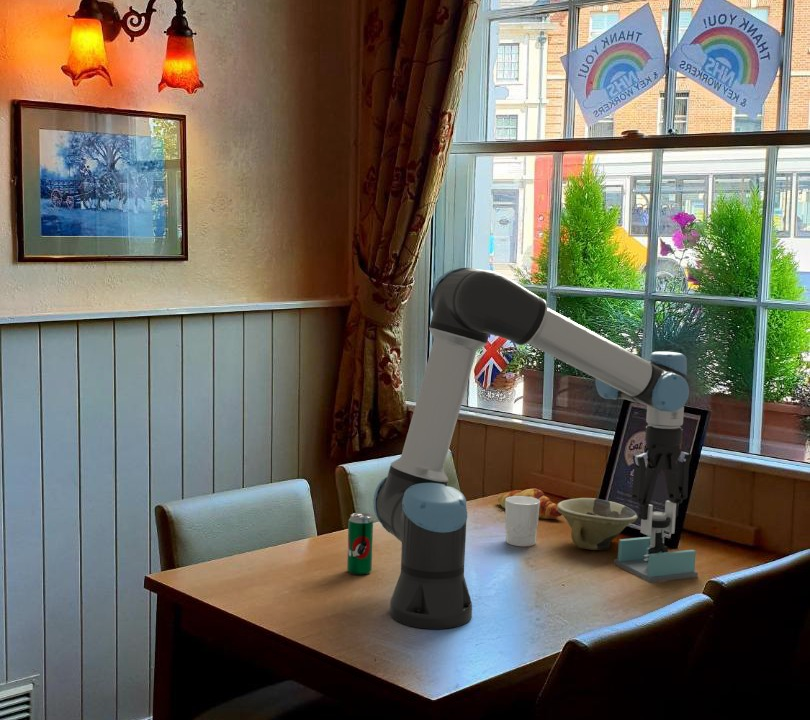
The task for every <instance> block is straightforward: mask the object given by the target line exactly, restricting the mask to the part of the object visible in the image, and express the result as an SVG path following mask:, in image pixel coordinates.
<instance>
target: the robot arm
mask: <svg viewBox="0 0 810 720" xmlns="http://www.w3.org/2000/svg"><path fill="white" fill-rule="evenodd" d="M429 294H430V295H429V305H430V308H431V312H432V316H431V319H430V324H429V328H428V329H429V332H430V334H431V335H432V338H433V342H432V344H431V345H432V346H431V349H430V353H429V356H428V359H427V363H426V367H425V369H424V370H425V371H424V373H423V374H424V375H423V378H422V382H421V384H420V389H419V392H418V396H417V399H416V403H415V406H414V409H413V413H412V417H411V420H410V424H409V428H408V432H407V434H406V438H405V442H404V445H403V448H402V453H401V455H400V457H399V458H398V459H395V460H394V461H393V462H391V463H390V466H389V470H388V473H387V476H385V477H384V478H383V479H381V481H379V483H378V485H377V487H376V488H375V490H374V494H373V498H372V499H373V501H372V504H373V505H372V506H373V510H374V511H373V512H374V513H375V516H376V519H377V520H378V522H379V523H380V524H381V527H383V529H385V530H386V531H387V532H388V533H389V534H391V535H392V536H394V537H395V538H396V539H397V540H398V541H400V542H401V555H400V556H401V557H400V558H401V559H400V561H401V562H400V574H399V577H398V580H397V582H396V585H395V588H394V590H393V593H392V595H391V599H390V602H389V614H390V616H391V618H392V619H394V620H395V621H397V622H398V623H400V624H403V625H406V626H410V627H413V628H419V629H428V630H429V629H430V630H431V629H432V630H437V629H438V630H439V629H441V630H442V629H451V628H452V629H453V628H456V627H460V626H463V625H465V624H467V623H468V622H470V621H471V619H472V616H473V604H472V599H471V596H470V593H469V589H468V585H467V582H466V578H465V557H466V556H465V555H466V540H467V539H466V538H467V537H466V536H467V521H468V509H467V499H466V497H465V495H464V493H462V492H461V491H460V490H459V489H458V488H455V487H453V486H450V485H449V486H448V482H449V478H448V475H447V474H446V472H445V470H444V467H445V464H446V460H447V456H448V453H449V449H450V447H451V442H452V440H453V439H452V438H453V435H454V432H455V429H456V426H457V425H456V424H457V421H458V418H459V415H460V411H461V408H462V407H461V406H462V405H463V404H462V403H463V399H464V396H465V393H466V391H467V386H468V383H469V379H470V375H471V371H472V369H473V365H474V361H475V358H476V353H477V352H478V350H480V349H482V348H483V347H486V346H487V344H488V341H489V336H490V335H491V336H495V337H499V338H502V339H505V340H508V341H509V342H513V344H514V343H515V344H516V345H518V346H525V345H527V344H528V345H530V346H532V347H534V348H536V349H538V350H539V351H542V352H544V353H545V354H547V355H550V356H551V357H554V358H555V359H557V360H560V361H561V362H564V363H565V364H567V365H569V366H571V367H573V368H575V369H577V370H579V371H580V372H583V373H585V374H587V375H589V376H591V377H593V378H594V379H595V388H596V390H597V394H598V395H599V396H600V397H601V398H603V399H605V400H606V399H607V400H627V401H629V402H633V403H636V404H639V405H642V406H643V405H644V406H646V419H645V422H646V423H647V424H646V426H645V437H644V440H645V444H646V446H645V449H644V451H643V452H642V453H640V454H633V455H632V461H633V465H634V466H633V477H632V490H631V500H632V501H634V502H637V503H639V507H638V508H639V510H638V511H639V512H638V518H639V519H641V520H640V534H643V535H646V537H650V536H651V528H652V513H653V512H654V511H653V510H654V509H653V508H654V505H653V504H650V503H651V500H652V497H653V495H654V491H655V486H656V484H657V480H658V476H659V475H660V474H661V472H662V471H663V472H664V476H665V478H664V479H665V484H666V489H667V494H668V499H669V500H665V505H664V513H666V516H667V517H669V518H670V519H671V520H670V522H669V526H668V527H667V528H665V529H664V532H667V533H669V534H671V535H672V534H675V532H676V531H675V529H676V518H677V517H678V516H679V505H681V504H682V503H683V501H684V500H687V499H688V498H689V497H688V495H689V494H688V492H689V473H690V471H689V469H690V463H691V460H692V457H693V456H692V453H688V452H685V451H682V450H681V445H682V442H683V430H684V429H683V428H682V427H681V426H683V424H684V414H685V412H684V411H685V404H686V403H687V401H688V399H689V395H690V387H689V384H688V382H687V377H688V373H687V372H688V367H687V366H688V362H687V360H688V359H687V356H686V355H684V354H683V353H680V352H675V351H653V352H651V354H650V356H649V360H646V359H645V358H642V357H640V356H639V355H637V354H635V353H633V352H631V351H629V350H627V349H626V348H623V347H622V346H621V345H619V344H617V343H614V342H612V341H611V340H608V339H607V338H605V337H603V336H601V335H599V334H597V333H595V332H594V331H591V330H590V329H589V328H586V327H585V326H583V325H581V324H578V323H577V322H575V321H573V320H572V319H570V318H568V317H566V316H564V315H562V314H561V313H558V312H556V311H555V310H554V309H551V308H550V307H548V305H547V301H546V299H544V298H542V297H540V296H538V295H536V294H535V293H533V292H532V291H530V290H528V289H527V288H525V287H524V286H522V285H520V284H519V283H518V282H515V281H514V280H512V279H511V278H508V277H507V276H505V275H504V274H502V273H499V272H496V271H493V270H487V269H486V270H485V269H478V268H472V267H467V266H466V267H459V268H455V269H454V268H453V269H451V270H448V271H446V272H445V273H443V274H442V275H440V276H439V277H438V278H437V280H435V283H434V284H433V286H432V288H431V291H430V293H429Z"/></svg>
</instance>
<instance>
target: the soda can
mask: <svg viewBox="0 0 810 720" xmlns="http://www.w3.org/2000/svg"><path fill="white" fill-rule="evenodd" d="M347 521H348V523H347V524H348V526H347V529H348V530H347V559H346V562H347V564H346V565H347V566H346V569H347V571H348V573H349V574H352V575H353V576H354V575H355V576H363V575H364V576H365V575H368V574H370V573H371V571H372V570H373V569H372V566H373V538H374V537H373V534H374V520H373V518H372V515H371V514H370V513H367V512H354V513H352V514H350V517H349V519H348V520H347Z"/></svg>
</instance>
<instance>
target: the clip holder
mask: <svg viewBox="0 0 810 720" xmlns="http://www.w3.org/2000/svg"><path fill="white" fill-rule="evenodd" d="M649 542H650V536H643V537H640V536H639V537H631V538H630V537H629V538H622V539H621V538H619V539H618V550H617V558H615V559H614V562H613V563H614V565H616V566H618V567H620V568H621V569H623V570H625V571H627V572H630V573H631V574H633V575H634V576H637V577H639V578H641V579H642V580H645V581H647V582H648V583H657V582H658V583H659V582H665V581H675V580H676V581H677V580H682V579H692V578H698V576H699V572H698V571H696V570H695V567H696V556H697V555H696V553H697V551H696V550H695V549H685V550H684V549H683V550H675V551H668V552H664V553H654V554H649V561H645V560H644V559H646V556H644V555H646V549H647V548H649ZM663 542H664V543H665V539H664V540H663Z"/></svg>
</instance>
